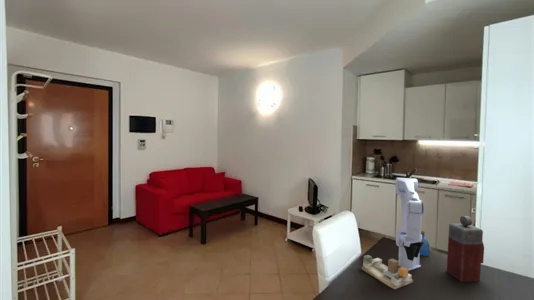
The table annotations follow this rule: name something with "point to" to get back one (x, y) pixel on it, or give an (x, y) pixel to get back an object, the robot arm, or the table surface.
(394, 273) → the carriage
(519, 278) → the table surface
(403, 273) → the orange cardboard cube
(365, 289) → the table surface
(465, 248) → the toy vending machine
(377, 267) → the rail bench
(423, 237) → the perfume bottle
